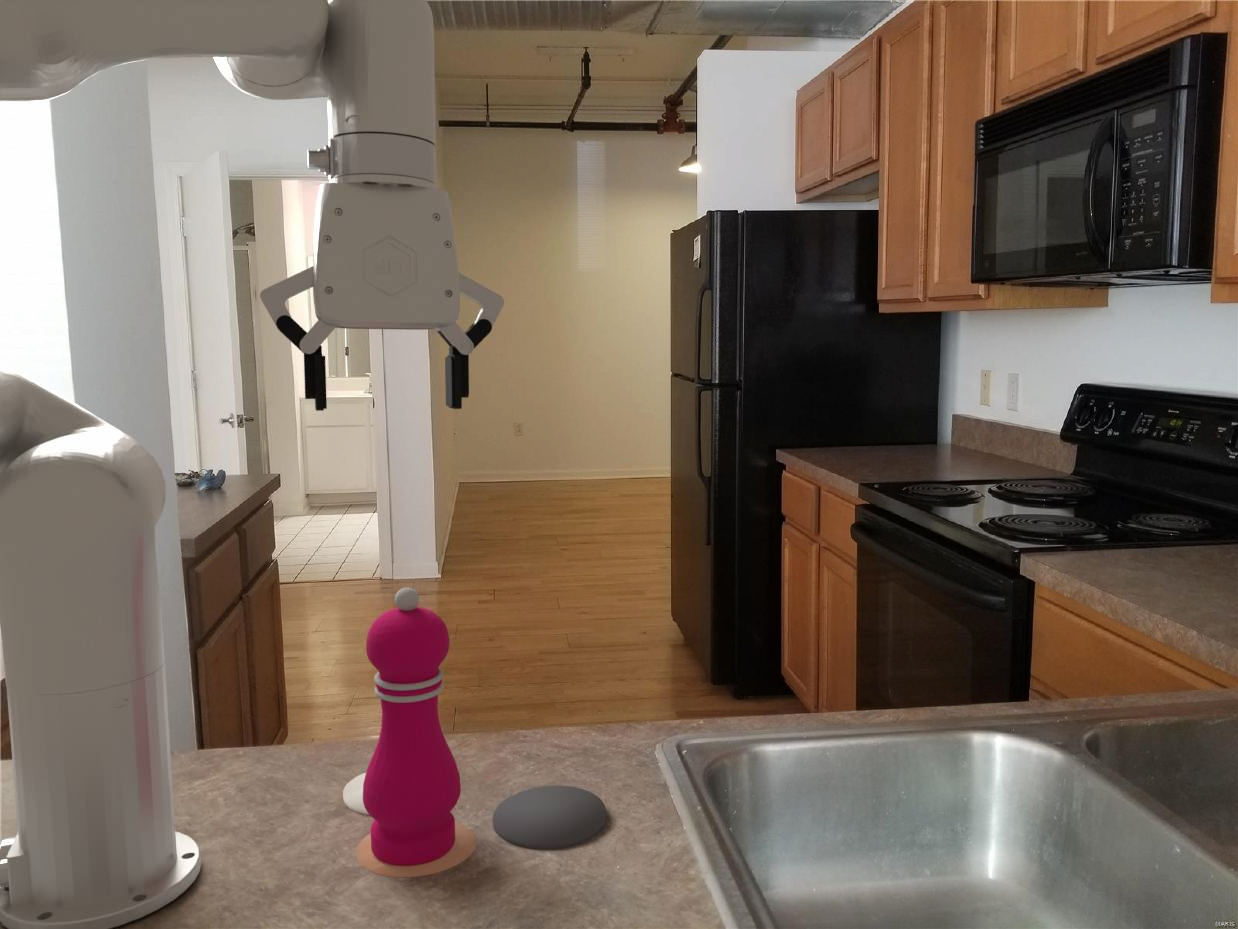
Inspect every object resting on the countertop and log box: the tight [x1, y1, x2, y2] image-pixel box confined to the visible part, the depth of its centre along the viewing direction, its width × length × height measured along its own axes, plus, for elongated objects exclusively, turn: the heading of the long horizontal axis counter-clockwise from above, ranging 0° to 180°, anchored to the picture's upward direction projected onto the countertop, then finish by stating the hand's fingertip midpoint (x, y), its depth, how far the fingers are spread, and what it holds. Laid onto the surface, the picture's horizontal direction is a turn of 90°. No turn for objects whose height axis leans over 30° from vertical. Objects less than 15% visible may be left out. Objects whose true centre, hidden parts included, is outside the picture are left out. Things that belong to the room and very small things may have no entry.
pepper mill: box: [363, 587, 462, 866], centre depth 71 cm, size 7×7×20 cm
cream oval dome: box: [342, 772, 370, 816], centre depth 82 cm, size 9×9×1 cm
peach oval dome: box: [355, 820, 478, 878], centre depth 73 cm, size 9×9×1 cm
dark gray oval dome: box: [492, 785, 607, 850], centre depth 77 cm, size 9×9×1 cm
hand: (388, 408), depth 71 cm, fingers open, 9 cm apart
